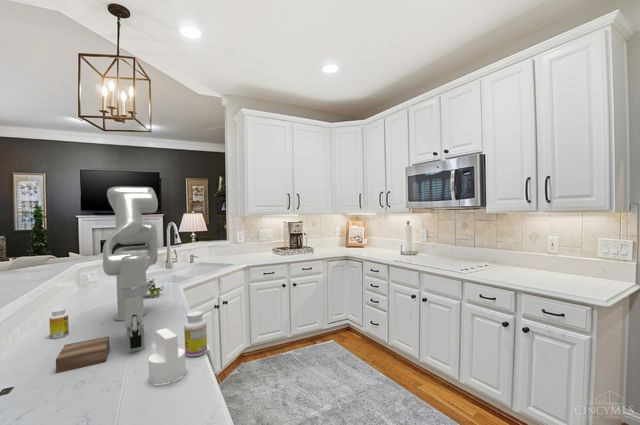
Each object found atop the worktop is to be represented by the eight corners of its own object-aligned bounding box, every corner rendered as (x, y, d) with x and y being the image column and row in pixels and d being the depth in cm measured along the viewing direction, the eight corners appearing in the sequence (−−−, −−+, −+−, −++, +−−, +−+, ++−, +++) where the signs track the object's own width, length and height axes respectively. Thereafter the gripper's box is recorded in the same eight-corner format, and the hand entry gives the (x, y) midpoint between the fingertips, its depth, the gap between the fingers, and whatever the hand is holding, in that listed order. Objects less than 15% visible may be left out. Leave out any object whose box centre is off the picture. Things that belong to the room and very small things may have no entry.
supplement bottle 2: (185, 350, 101) (184, 311, 101) (207, 346, 104) (205, 308, 104) (184, 359, 95) (183, 318, 95) (207, 355, 97) (205, 314, 97)
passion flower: (143, 307, 172) (135, 288, 175) (163, 299, 180) (155, 281, 183) (146, 299, 165) (138, 280, 168) (167, 291, 173) (158, 273, 176)
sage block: (128, 347, 106) (127, 327, 106) (144, 343, 108) (143, 324, 108) (127, 353, 101) (126, 331, 101) (144, 349, 104) (143, 328, 104)
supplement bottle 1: (67, 336, 117) (66, 310, 117) (48, 340, 115) (47, 313, 115) (70, 332, 122) (69, 306, 122) (52, 335, 120) (51, 309, 120)
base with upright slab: (145, 377, 85) (143, 334, 85) (178, 365, 92) (177, 324, 92) (155, 389, 79) (153, 343, 79) (190, 375, 85) (189, 332, 85)
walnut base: (65, 357, 100) (64, 344, 100) (109, 347, 106) (109, 336, 106) (56, 373, 89) (55, 359, 89) (106, 361, 95) (105, 348, 95)
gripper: (122, 288, 110) (124, 338, 110) (119, 298, 95) (121, 357, 95) (146, 285, 114) (148, 334, 114) (147, 294, 99) (149, 351, 99)
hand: (136, 344), depth 105 cm, fingers closed on sage block, 5 cm apart
